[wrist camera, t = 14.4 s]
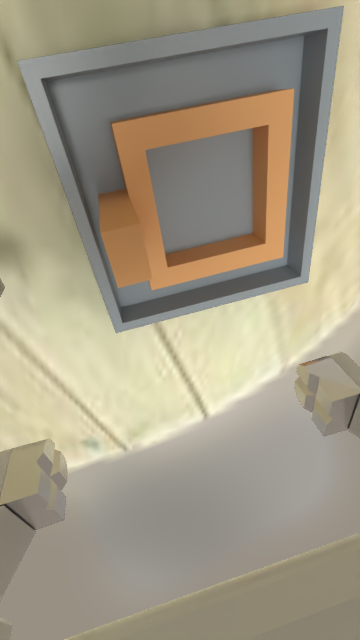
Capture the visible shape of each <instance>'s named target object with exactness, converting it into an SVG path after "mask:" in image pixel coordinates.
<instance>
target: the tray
mask: <svg viewBox="0 0 360 640" xmlns="http://www.w3.org/2000/svg"><path fill="white" fill-rule="evenodd" d="M343 8H344V6H339V7H333V8H327V9H321V10H315V11H310V12H304V13H298V14H292V15H286V16H280V17H274V18H268V19H262V20H256V21H250V22H244V23H238V24H233V25H227V26H221V27H215V28H209V29H203V30H197V31H191V32H185V33H179V34H173V35H167V36H161V37H156V38H150V39H144V40H138V41H132V42H126V43H120V44H114V45H108V46H102V47H96V48H90V49H84V50H78V51H73V52H67V53H61V54H55V55H49V56H43V57H37V58H31V59H25V60H19V61H17V62H18V65H19V68H20V70H21V73H22V76H23V79H24V81H25V84H26V87H27V90H28V92H29V95H30V98H31V101H32V103H33V106H34V109H35V112H36V114H37V117H38V120H39V123H40V125H41V128H42V131H43V134H44V137H45V139H46V142H47V145H48V148H49V150H50V153H51V156H52V159H53V161H54V164H55V167H56V170H57V172H58V175H59V178H60V181H61V183H62V186H63V189H64V192H65V194H66V197H67V200H68V203H69V205H70V208H71V211H72V214H73V216H74V219H75V222H76V225H77V227H78V230H79V233H80V236H81V238H82V241H83V244H84V247H85V249H86V252H87V255H88V258H89V260H90V263H91V266H92V269H93V271H94V274H95V277H96V280H97V282H98V285H99V288H100V291H101V293H102V296H103V299H104V302H105V304H106V307H107V310H108V313H109V315H110V318H111V321H112V324H113V326H114V329H115V332H116V333H118V332H122V331H126V330H130V329H133V328H137V327H141V326H145V325H149V324H152V323H156V322H160V321H164V320H167V319H171V318H175V317H179V316H183V315H186V314H190V313H194V312H198V311H201V310H205V309H209V308H213V307H217V306H220V305H224V304H228V303H232V302H235V301H239V300H243V299H247V298H251V297H254V296H258V295H262V294H266V293H269V292H273V291H277V290H281V289H284V288H288V287H292V286H296V285H300V284H303V283H307V282H308V280H309V272H310V264H311V256H312V249H313V241H314V233H315V225H316V218H317V210H318V202H319V194H320V186H321V179H322V171H323V163H324V155H325V148H326V140H327V132H328V124H329V116H330V109H331V101H332V93H333V85H334V78H335V70H336V62H337V54H338V46H339V39H340V31H341V23H342V15H343ZM293 88H294V101H293V116H292V131H291V146H290V161H289V176H288V191H287V206H286V221H285V236H284V251H283V257H282V258H278V259H274V260H270V261H266V262H262V263H258V264H254V265H250V266H246V267H242V268H238V269H235V270H231V271H227V272H223V273H219V274H215V275H211V276H207V277H203V278H199V279H195V280H191V281H187V282H183V283H179V284H175V285H171V286H167V287H163V288H159V289H155V290H151V287H150V284H149V281H144V282H140V283H136V284H132V285H128V286H124V287H120V288H118V286H117V283H116V280H115V277H114V274H113V270H112V267H111V264H110V261H109V258H108V255H107V252H106V248H105V245H104V242H103V239H102V236H101V232H100V218H99V203H98V194H102V193H107V192H112V191H116V190H121V189H125V188H126V187H125V183H124V179H123V175H122V171H121V167H120V163H119V159H118V154H117V150H116V146H115V142H114V138H113V134H112V130H111V126H110V122H112V121H117V120H122V119H127V118H132V117H137V116H143V115H148V114H153V113H158V112H163V111H168V110H174V109H179V108H184V107H189V106H194V105H199V104H205V103H210V102H215V101H220V100H225V99H230V98H236V97H241V96H246V95H251V94H256V93H261V92H267V91H272V90H280V89H293ZM145 152H146V157H147V162H148V167H149V173H150V178H151V183H152V188H153V193H154V199H155V204H156V209H157V214H158V219H159V225H160V230H161V235H162V240H163V245H164V251H165V254H169V253H173V252H177V251H181V250H186V249H190V248H194V247H198V246H202V245H206V244H210V243H214V242H219V241H223V240H227V239H231V238H235V237H239V236H243V235H248V234H252V233H253V128H250V129H245V130H240V131H235V132H230V133H225V134H221V135H216V136H211V137H206V138H201V139H196V140H191V141H186V142H182V143H177V144H172V145H167V146H162V147H157V148H152V149H148V150H145Z"/></svg>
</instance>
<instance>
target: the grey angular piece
mask: <svg viewBox="0 0 360 640" xmlns="http://www.w3.org/2000/svg"><path fill="white" fill-rule="evenodd" d="M4 288H5V286H4V284H3V283H2V281H1V279H0V297H1V295H2V293H3V291H4Z"/></svg>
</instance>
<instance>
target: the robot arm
mask: <svg viewBox="0 0 360 640" xmlns="http://www.w3.org/2000/svg"><path fill="white" fill-rule="evenodd" d="M296 372H297V374H298V375H299V377H298V379H297V380H296V381H295V392H296V396H297V398H298V399H299V402H300V403H301V405H302V406H303V408H305V409H307V410H309V411H310V412H312V421H313V422H314V423H315V425H316V426H317V428H318V429H319V430H320V432H321V433H322V435H323V436H327V435H331V434H334V433H337V432H341V431H345V430H348V429H349V430H348V431H349V432H351V433H353V434H354V435H356V436H357V437H359V438H360V367H359V366H358V365H357V364H356V363H355V362H354V361H353V360H352V359H351V358H350V357H349V356H348V355H347V354H345V353H343V352H340V353H336V354H333V355H330V356H327V357H326V356H325V357H322V358H318V359H315V360H312V361H309V362H305V363H302V364H299V365H298V367H297V371H296ZM54 448H55V443H54V442H53V441H52V440H51V439H50V438H49V439H46V440H42V441H38V442H35V443H31V444H27V445H24V446H20V447H16V448H12V449H9V450H5V451H2V452H0V601H1V599H2V597H3V595H4V593H5V591H6V589H7V587H8V585H9V583H10V581H11V579H12V577H13V575H14V573H15V572H16V570H17V568H18V566H19V564H20V562H21V560H22V558H23V556H24V554H25V552H26V550H27V548H28V546H29V545H30V543H31V540H32V539H33V537H34V535H35V532H36V531H35V530H37V529H40V528H43V527H46V526H49V525H52V524H55V523H57V522H60V521H63V520H64V519H65V505H66V496H65V494H64V493H63V492H62V491H61V490H62V489H63V487H64V485H65V484H66V482H67V465H66V460H65V458H64V456H63V454H62V453H61V452H60V451H57V450H54ZM11 629H12V625H11V624H10V622H9V621H8V620H5V619H2V618H0V640H10V636H11ZM64 640H360V533H357V534H355V535H352V536H349V537H346V538H343V539H341V540H338V541H335V542H332V543H330V544H327V545H324V546H321V547H319V548H316V549H313V550H310V551H307V552H305V553H302V554H299V555H296V556H294V557H291V558H288V559H285V560H283V561H280V562H277V563H274V564H271V565H269V566H266V567H263V568H260V569H258V570H255V571H252V572H249V573H247V574H244V575H241V576H238V577H235V578H233V579H230V580H227V581H224V582H222V583H219V584H216V585H213V586H211V587H208V588H205V589H202V590H199V591H197V592H194V593H191V594H188V595H186V596H183V597H180V598H177V599H175V600H172V601H169V602H166V603H164V604H161V605H158V606H155V607H152V608H150V609H147V610H144V611H141V612H139V613H136V614H133V615H130V616H128V617H125V618H122V619H119V620H116V621H114V622H111V623H108V624H105V625H103V626H100V627H97V628H94V629H92V630H89V631H86V632H83V633H80V634H78V635H75V636H72V637H69V638H67V639H64Z"/></svg>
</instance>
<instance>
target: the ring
mask: <svg viewBox="0 0 360 640" xmlns="http://www.w3.org/2000/svg"><path fill="white" fill-rule="evenodd" d="M293 101H294V88H293V89H280V90H272V91H267V92H261V93H256V94H251V95H246V96H241V97H236V98H230V99H225V100H220V101H215V102H210V103H205V104H199V105H194V106H189V107H184V108H179V109H174V110H168V111H163V112H158V113H153V114H148V115H143V116H137V117H132V118H127V119H122V120H117V121H112V122H110V126H111V130H112V134H113V138H114V142H115V146H116V150H117V154H118V159H119V163H120V167H121V171H122V175H123V179H124V183H125V187H126V188H125V189H121V190H116V191H112V192H107V193H102V194H98V203H99V218H100V232H101V236H102V239H103V242H104V245H105V248H106V252H107V255H108V258H109V261H110V264H111V267H112V270H113V274H114V277H115V280H116V283H117V286H118V288H120V287H124V286H128V285H132V284H136V283H140V282H144V281H149V284H150V287H151V290H155V289H159V288H163V287H167V286H171V285H175V284H179V283H183V282H187V281H191V280H195V279H199V278H203V277H207V276H211V275H215V274H219V273H223V272H227V271H231V270H235V269H238V268H242V267H246V266H250V265H254V264H258V263H262V262H266V261H270V260H274V259H278V258H282V257H283V251H284V236H285V221H286V206H287V191H288V176H289V161H290V146H291V131H292V116H293ZM250 128H253V233H252V234H248V235H243V236H239V237H235V238H231V239H227V240H223V241H219V242H214V243H210V244H206V245H202V246H198V247H194V248H190V249H186V250H181V251H177V252H173V253H169V254H165V251H164V245H163V240H162V235H161V230H160V225H159V219H158V214H157V209H156V204H155V199H154V193H153V188H152V183H151V178H150V173H149V167H148V162H147V157H146V152H145V150H148V149H152V148H157V147H162V146H167V145H172V144H177V143H182V142H186V141H191V140H196V139H201V138H206V137H211V136H216V135H221V134H225V133H230V132H235V131H240V130H245V129H250Z"/></svg>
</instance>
